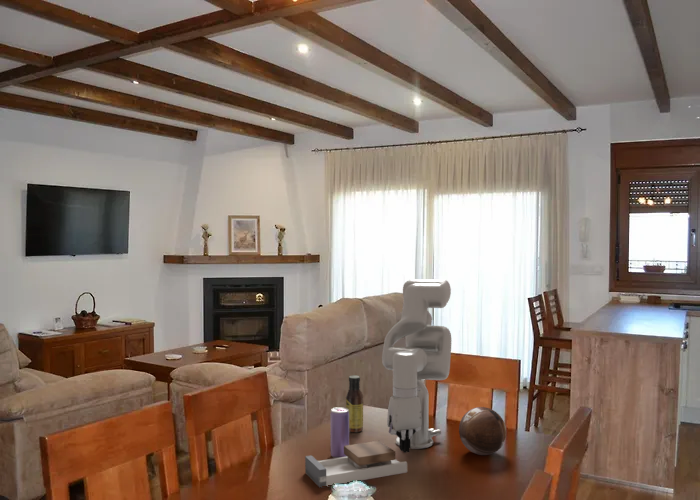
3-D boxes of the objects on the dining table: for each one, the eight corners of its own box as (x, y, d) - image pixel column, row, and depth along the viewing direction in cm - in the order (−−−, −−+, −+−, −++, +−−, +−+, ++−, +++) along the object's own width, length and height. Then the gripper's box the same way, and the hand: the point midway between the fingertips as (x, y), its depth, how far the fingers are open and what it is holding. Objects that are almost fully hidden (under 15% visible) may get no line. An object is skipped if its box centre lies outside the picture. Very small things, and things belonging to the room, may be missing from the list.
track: (388, 459, 199) (388, 443, 199) (407, 472, 188) (407, 455, 188) (305, 472, 187) (305, 456, 187) (319, 487, 176) (319, 470, 176)
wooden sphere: (449, 452, 205) (449, 406, 204) (480, 443, 214) (480, 399, 214) (485, 465, 193) (485, 417, 193) (516, 455, 202) (516, 409, 202)
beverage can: (347, 459, 198) (347, 412, 198) (328, 458, 199) (328, 411, 199) (350, 453, 204) (350, 407, 204) (333, 452, 205) (332, 406, 205)
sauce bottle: (347, 427, 232) (347, 374, 231) (364, 428, 231) (363, 374, 230) (344, 433, 225) (344, 378, 225) (362, 433, 224) (361, 378, 224)
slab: (379, 455, 197) (378, 440, 197) (395, 467, 187) (395, 451, 187) (343, 461, 192) (343, 445, 192) (358, 473, 182) (358, 457, 182)
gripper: (419, 387, 200) (419, 444, 200) (377, 391, 194) (377, 450, 194) (432, 392, 193) (432, 451, 194) (389, 397, 187) (389, 458, 188)
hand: (404, 451), depth 194 cm, fingers closed
